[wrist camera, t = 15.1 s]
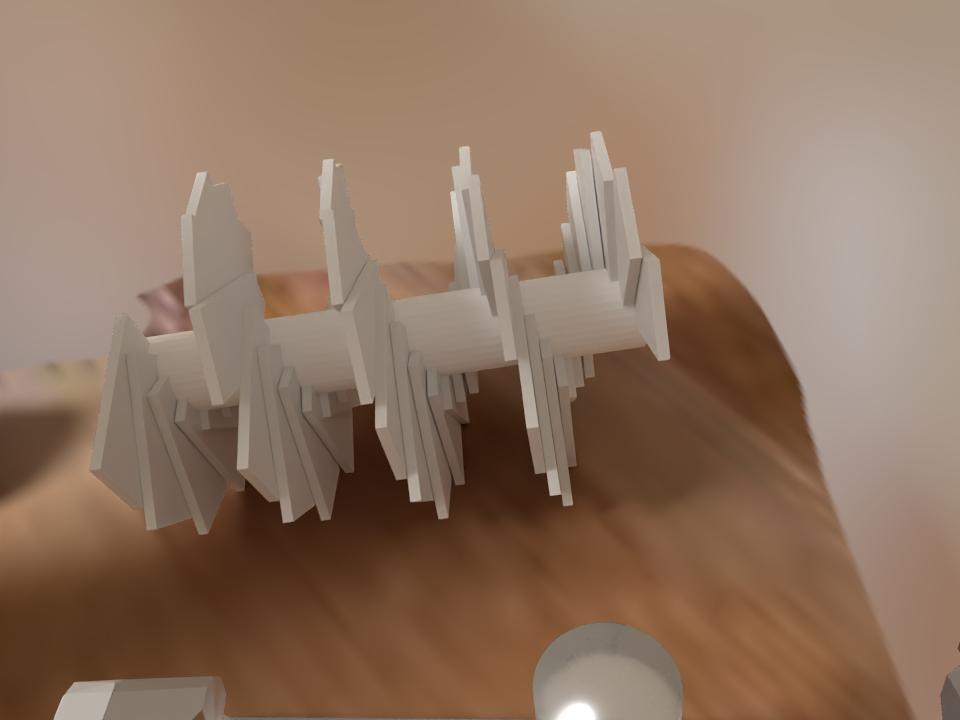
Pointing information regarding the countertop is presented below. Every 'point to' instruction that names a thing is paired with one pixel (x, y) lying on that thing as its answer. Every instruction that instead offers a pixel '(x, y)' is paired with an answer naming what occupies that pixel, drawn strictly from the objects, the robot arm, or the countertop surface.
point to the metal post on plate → (607, 676)
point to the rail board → (345, 719)
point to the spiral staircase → (366, 355)
